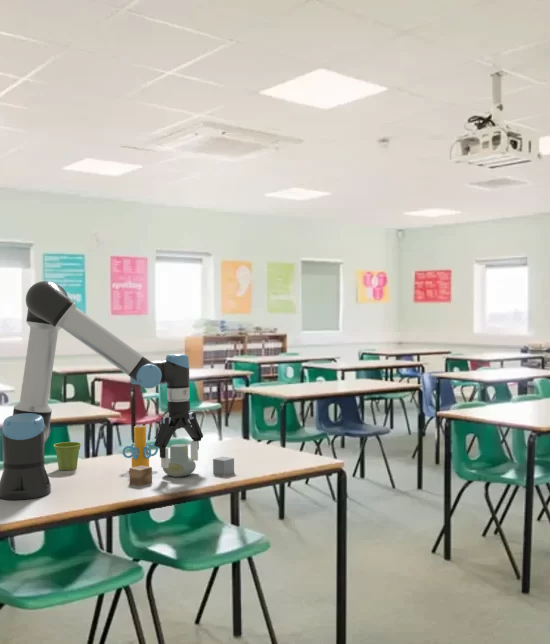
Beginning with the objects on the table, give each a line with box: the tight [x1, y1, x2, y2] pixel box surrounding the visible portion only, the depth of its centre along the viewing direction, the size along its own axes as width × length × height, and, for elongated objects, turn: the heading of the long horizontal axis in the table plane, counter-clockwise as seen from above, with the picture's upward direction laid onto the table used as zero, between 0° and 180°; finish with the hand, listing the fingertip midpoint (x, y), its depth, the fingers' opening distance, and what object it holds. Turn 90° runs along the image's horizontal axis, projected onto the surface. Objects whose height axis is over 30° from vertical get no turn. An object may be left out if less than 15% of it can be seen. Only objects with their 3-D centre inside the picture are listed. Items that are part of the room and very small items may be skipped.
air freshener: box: [162, 443, 197, 478], centre depth 235 cm, size 11×8×10 cm
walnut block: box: [128, 465, 153, 487], centre depth 224 cm, size 5×5×5 cm
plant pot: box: [53, 441, 82, 471], centre depth 246 cm, size 9×9×9 cm
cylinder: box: [122, 425, 159, 468], centre depth 244 cm, size 12×10×15 cm
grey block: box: [212, 456, 235, 476], centre depth 237 cm, size 5×5×5 cm
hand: (180, 463), depth 235 cm, fingers open, 13 cm apart
